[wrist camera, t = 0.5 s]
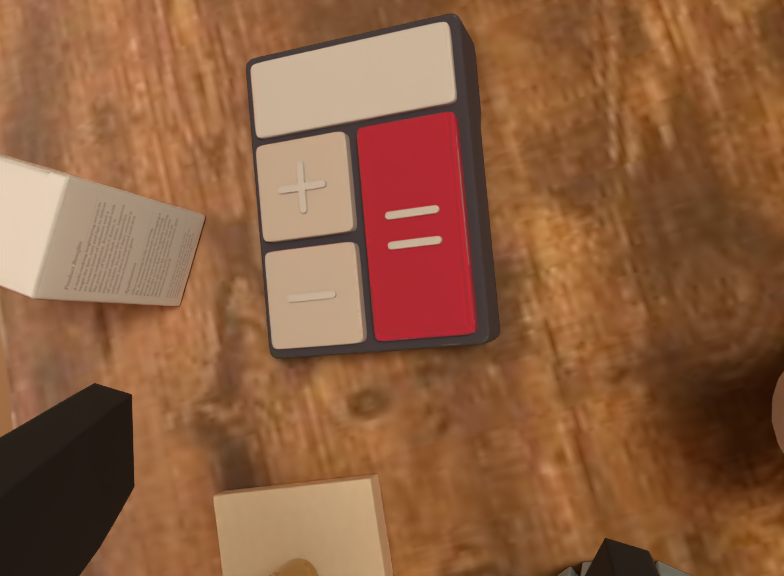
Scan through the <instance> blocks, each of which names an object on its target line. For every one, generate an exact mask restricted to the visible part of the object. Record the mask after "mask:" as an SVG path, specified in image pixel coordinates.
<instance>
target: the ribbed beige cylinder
mask: <svg viewBox="0 0 784 576" xmlns="http://www.w3.org/2000/svg"><path fill="white" fill-rule="evenodd" d="M772 424H773V428H774V431H775V435H776V438H777V442H778V445H779V446H780V448H781V450H782V451H783V453H784V371H783V373H782V374H781V376H780V377H779V379H778V381H777V384H776V387H775V391H774V394H773V398H772Z"/></svg>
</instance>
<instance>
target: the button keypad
mask: <svg viewBox="0 0 784 576" xmlns="http://www.w3.org/2000/svg"><path fill="white" fill-rule="evenodd" d="M246 75H247V87H248V99H249V111H250V123H251V135H252V147H253V159H254V171H255V183H256V195H257V207H258V219H259V230H260V242H261V254H262V266H263V278H264V290H265V302H266V314H267V326H268V338H269V349H270V353H271V355H272V356H273V357H274V358H276V359H286V358H300V357H314V356H328V355H342V354H355V353H369V352H383V351H397V350H410V349H424V348H438V347H452V346H465V345H478V344H484V343H487V342H489V341H492V340H494V339H496V338H497V337H498V336H499V333H500V324H499V314H498V304H497V293H496V283H495V272H494V262H493V252H492V241H491V231H490V221H489V210H488V200H487V190H486V179H485V169H484V159H483V148H482V138H481V107H480V96H479V86H478V76H477V65H476V55H475V46H474V43H473V41H472V39H471V38H470V36H469V34H468V32H467V31H466V29H465V27H464V25H463V24H462V22H461V20H460V19H459V17H458V16H457V15H455V14H446V15H441V16H437V17H432V18H428V19H424V20H419V21H415V22H410V23H406V24H402V25H397V26H393V27H389V28H384V29H380V30H375V31H371V32H367V33H362V34H358V35H353V36H349V37H345V38H340V39H336V40H332V41H327V42H323V43H318V44H314V45H310V46H305V47H301V48H297V49H292V50H288V51H283V52H279V53H275V54H270V55H266V56H261V57H257V58H253V59H251V60H250V61H249V62H248V63H247V66H246Z"/></svg>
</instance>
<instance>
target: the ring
mask: <svg viewBox="0 0 784 576" xmlns="http://www.w3.org/2000/svg"><path fill="white" fill-rule="evenodd" d="M591 563H592V561H590V562H583V563H582V569H581V576H585V574H586V572H587V570H588V568H589V567H590V565H591ZM656 568H657V570H658V572H659V575H660V576H691V575H688V574H686V573H684V572H682V571H680V570H677V569H675V568H673V567H671V566H668V565H666V564H664V563H662V562H660V561H657V563H656ZM557 576H578V575H577V573H576V572H575V571H574V570H573V568H572V567H568V568H567V569H566V570H564V571H563V572H561V573H560V574H559V575H557Z"/></svg>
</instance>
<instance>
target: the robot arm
mask: <svg viewBox="0 0 784 576" xmlns="http://www.w3.org/2000/svg"><path fill="white" fill-rule="evenodd" d="M133 488H134V455H133V420H132V394H129V393H125V392H122V391H119V390H115V389H112V388H109V387H106V386H102V385H99V384H96V383H94V384H92V385H90V386H89V387H87V388H85V389H83V390H81V391H80V392H78V393H76V394H74V395H73V396H71V397H69V398H67V399H66V400H64V401H62V402H60V403H59V404H57V405H55V406H54V407H52V408H50V409H48V410H47V411H45V412H43V413H42V414H40V415H38V416H36V417H35V418H33V419H31V420H30V421H28V422H26V423H24V424H23V425H21V426H19V427H17V428H16V429H14V430H12V431H11V432H9V433H7V434H5V435H4V436H2V437H0V576H79V575H80V574H81V573H82V571H83V570H84V568H85V567H86V566H87V564H88V563H89V562H90V560H91V559H92V557H93V556H94V555H95V553H96V552H97V550H98V549H99V548H100V546H101V544H102V543H103V541H104V539H105V537H106V536H107V534H108V532H109V531H110V529H111V527H112V526H113V524H114V522H115V521H116V519H117V517H118V515H119V513H120V512H121V510H122V508H123V506H124V504H125V503H126V501H127V499H128V497H129V495H130V494H131V492H132V490H133ZM585 576H660V575H659V572H658V570H657V568H656V565H655V563H654V561H653V558H652V557H651V555H650V553H649V551H647V550H644V549H640V548H637V547H634V546H630V545H627V544H624V543H620V542H617V541H614V540H611V539H607V538H605V539H604V541H603V543H602V545H601V547H600V548H599V550H598V552H597V554H596V556H595V558H594V559H593V561H592V563H591V565H590V567H589V568H588V570H587V572H586V574H585Z"/></svg>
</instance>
